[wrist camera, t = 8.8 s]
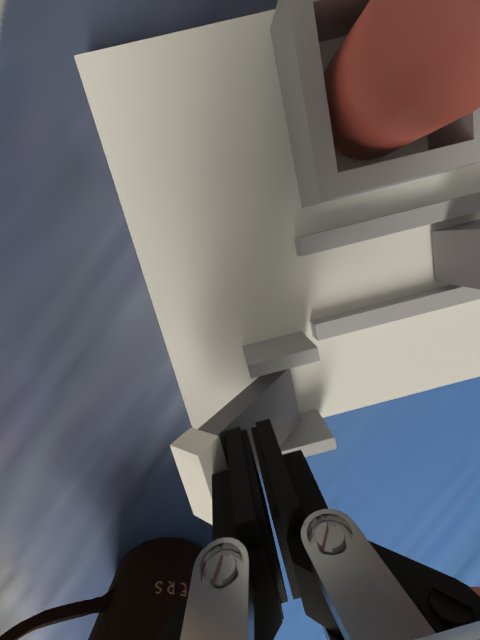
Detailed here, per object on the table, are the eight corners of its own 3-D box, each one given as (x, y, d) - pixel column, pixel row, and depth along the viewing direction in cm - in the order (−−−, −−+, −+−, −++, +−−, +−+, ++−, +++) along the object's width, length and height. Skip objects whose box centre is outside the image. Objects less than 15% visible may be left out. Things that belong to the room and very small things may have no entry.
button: (415, 25, 12) (526, -91, 8) (425, 146, 14) (526, 101, 9) (308, 51, 12) (360, -54, 8) (326, 170, 13) (381, 136, 9)
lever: (297, 361, 15) (197, 455, 10) (308, 417, 15) (221, 530, 10) (272, 360, 15) (169, 444, 11) (284, 413, 16) (193, 514, 11)
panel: (489, -18, 14) (596, -119, 10) (499, 354, 18) (576, 384, 15) (88, 75, 13) (39, 8, 10) (200, 433, 18) (197, 485, 14)
